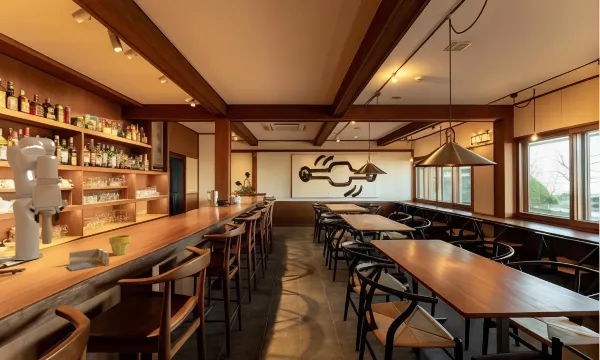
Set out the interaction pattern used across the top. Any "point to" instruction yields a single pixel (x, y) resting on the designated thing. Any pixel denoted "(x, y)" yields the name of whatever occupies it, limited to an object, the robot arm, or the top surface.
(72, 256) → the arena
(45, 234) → the handle
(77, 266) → the coaster
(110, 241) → the plant pot
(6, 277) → the top surface
